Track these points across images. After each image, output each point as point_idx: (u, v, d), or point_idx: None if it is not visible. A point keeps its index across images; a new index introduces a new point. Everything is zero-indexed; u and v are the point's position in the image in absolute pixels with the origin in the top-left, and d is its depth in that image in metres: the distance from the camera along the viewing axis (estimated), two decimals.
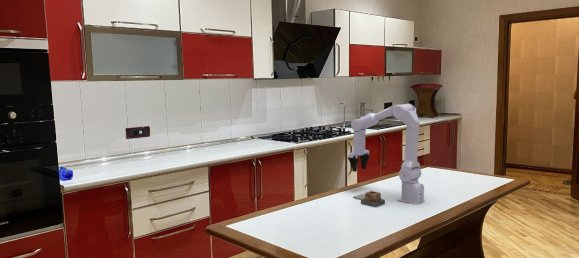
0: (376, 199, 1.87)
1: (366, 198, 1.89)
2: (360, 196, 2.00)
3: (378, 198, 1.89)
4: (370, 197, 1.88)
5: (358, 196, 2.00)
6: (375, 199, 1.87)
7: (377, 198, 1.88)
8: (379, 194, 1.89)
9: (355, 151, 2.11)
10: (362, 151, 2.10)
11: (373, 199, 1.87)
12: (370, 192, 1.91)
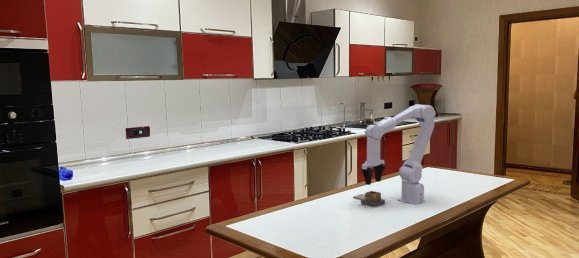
0: (376, 199, 1.87)
1: (366, 198, 1.89)
2: (360, 196, 2.00)
3: (378, 198, 1.89)
4: (370, 197, 1.88)
5: (358, 196, 2.00)
6: (375, 199, 1.87)
7: (377, 198, 1.88)
8: (379, 194, 1.89)
9: (369, 161, 1.86)
10: (377, 161, 1.85)
11: (373, 199, 1.87)
12: (370, 192, 1.91)
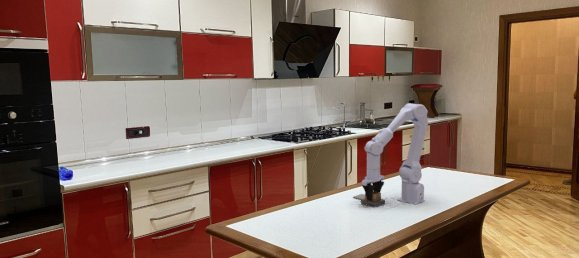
0: (376, 199, 1.87)
1: (366, 198, 1.89)
2: (360, 196, 2.00)
3: (378, 198, 1.89)
4: None
5: (358, 196, 2.00)
6: (375, 199, 1.87)
7: (377, 198, 1.88)
8: (379, 194, 1.89)
9: (369, 177, 1.87)
10: (377, 178, 1.86)
11: (373, 199, 1.87)
12: None
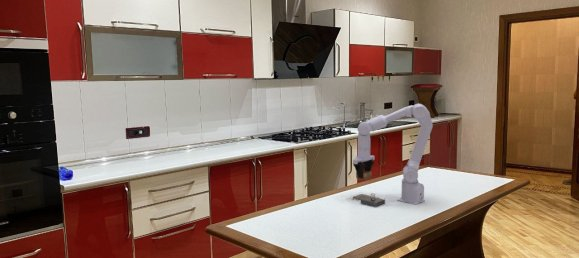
0: (367, 177, 1.96)
1: (357, 177, 1.98)
2: (360, 196, 2.00)
3: (368, 177, 1.97)
4: None
5: (358, 196, 2.00)
6: (366, 177, 1.95)
7: (368, 177, 1.97)
8: (369, 173, 1.97)
9: (359, 157, 1.96)
10: (367, 157, 1.95)
11: (364, 177, 1.95)
12: None
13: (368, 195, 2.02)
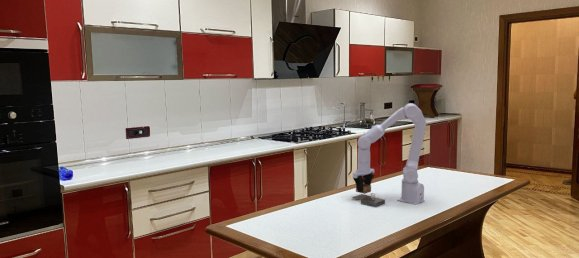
0: (366, 191, 1.97)
1: (357, 190, 1.99)
2: (360, 196, 2.00)
3: (368, 190, 1.98)
4: None
5: (358, 196, 2.00)
6: (365, 191, 1.96)
7: (367, 190, 1.97)
8: (369, 186, 1.98)
9: (359, 170, 1.96)
10: (367, 170, 1.96)
11: (363, 191, 1.96)
12: None
13: (368, 195, 2.02)
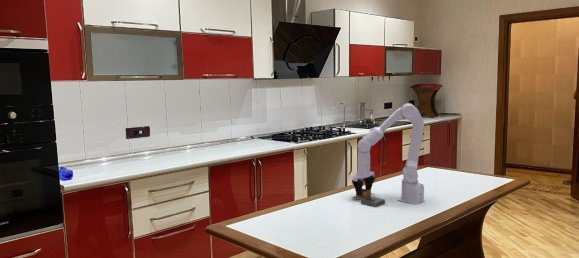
0: (366, 196, 1.97)
1: (357, 195, 1.99)
2: None
3: (368, 195, 1.98)
4: (361, 194, 1.97)
5: None
6: (365, 196, 1.97)
7: (367, 195, 1.98)
8: (369, 192, 1.98)
9: (359, 174, 1.96)
10: (367, 174, 1.96)
11: (363, 196, 1.96)
12: None
13: None
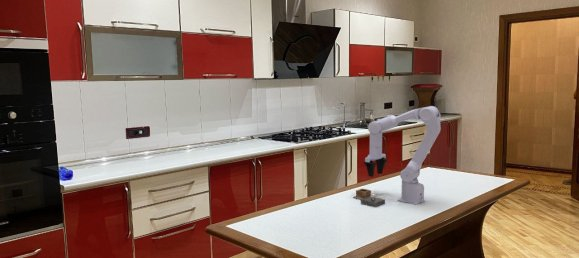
0: (366, 196, 1.97)
1: (357, 195, 1.99)
2: None
3: (368, 195, 1.98)
4: (361, 194, 1.97)
5: None
6: (365, 196, 1.97)
7: (367, 195, 1.98)
8: (369, 192, 1.98)
9: (371, 155, 2.00)
10: (379, 155, 1.99)
11: (363, 196, 1.96)
12: (361, 190, 2.01)
13: None
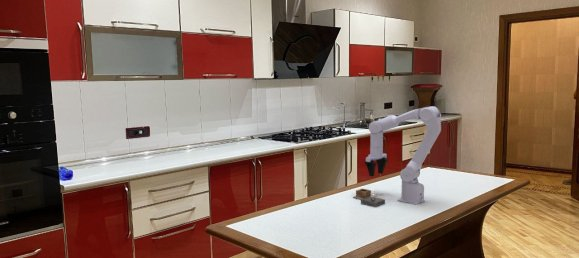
0: (366, 196, 1.97)
1: (357, 195, 1.99)
2: None
3: (368, 195, 1.98)
4: (361, 194, 1.97)
5: None
6: (365, 196, 1.97)
7: (367, 195, 1.98)
8: (369, 192, 1.98)
9: (372, 155, 2.00)
10: (380, 155, 1.99)
11: (363, 196, 1.96)
12: (361, 190, 2.01)
13: None
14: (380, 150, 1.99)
